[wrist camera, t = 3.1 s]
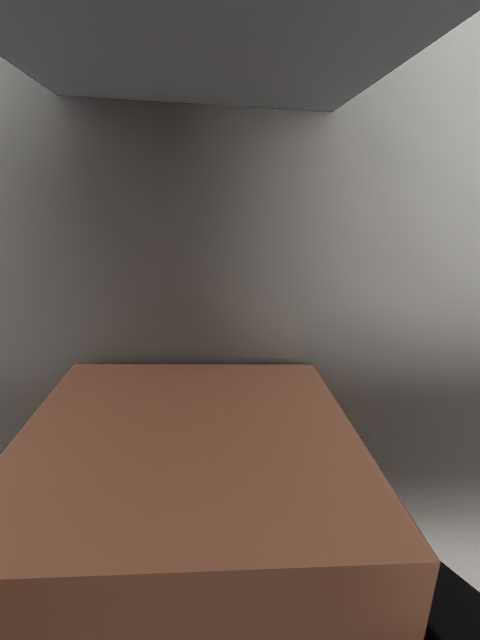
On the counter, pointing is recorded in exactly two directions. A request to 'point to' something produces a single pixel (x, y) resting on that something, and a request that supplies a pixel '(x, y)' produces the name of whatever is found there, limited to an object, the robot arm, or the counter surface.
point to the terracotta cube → (203, 513)
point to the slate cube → (221, 47)
